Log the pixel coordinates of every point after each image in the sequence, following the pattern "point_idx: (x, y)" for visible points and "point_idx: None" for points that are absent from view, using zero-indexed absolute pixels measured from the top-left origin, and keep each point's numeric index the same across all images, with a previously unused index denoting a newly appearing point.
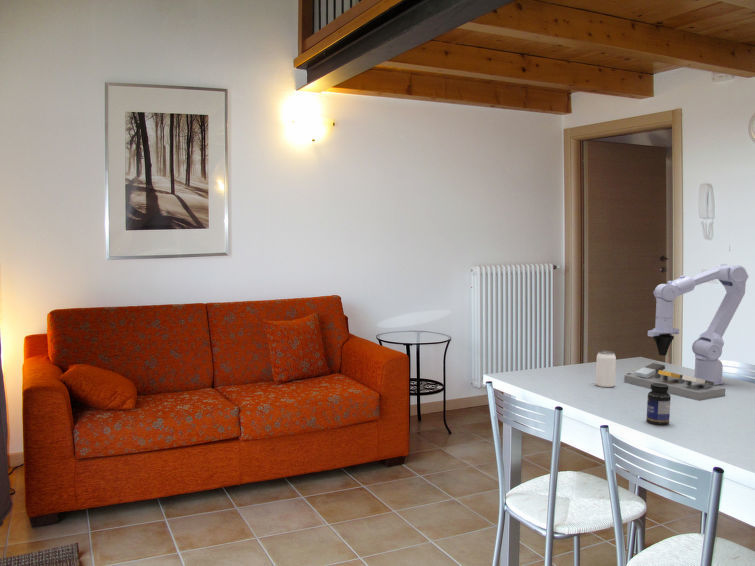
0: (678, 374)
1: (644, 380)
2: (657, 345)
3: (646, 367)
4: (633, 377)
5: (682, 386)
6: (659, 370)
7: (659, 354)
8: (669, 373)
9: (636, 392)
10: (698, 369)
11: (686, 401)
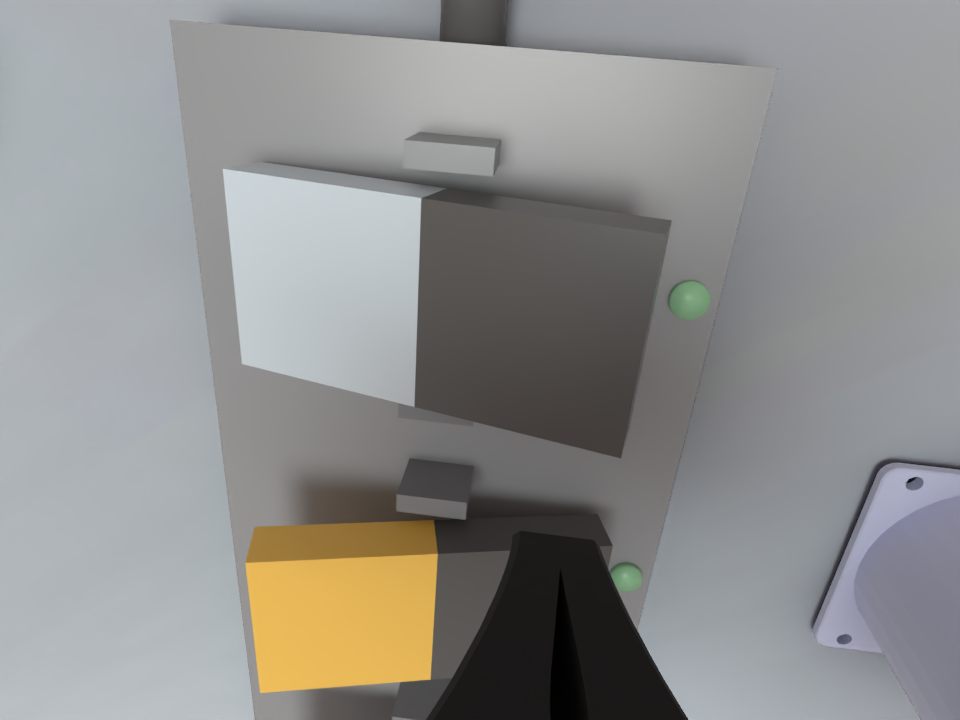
0: (396, 680)
1: (214, 353)
2: (444, 704)
3: (428, 243)
4: (192, 191)
5: None
6: (247, 566)
7: (511, 547)
8: (262, 664)
9: (13, 407)
10: (944, 675)
11: (186, 710)
